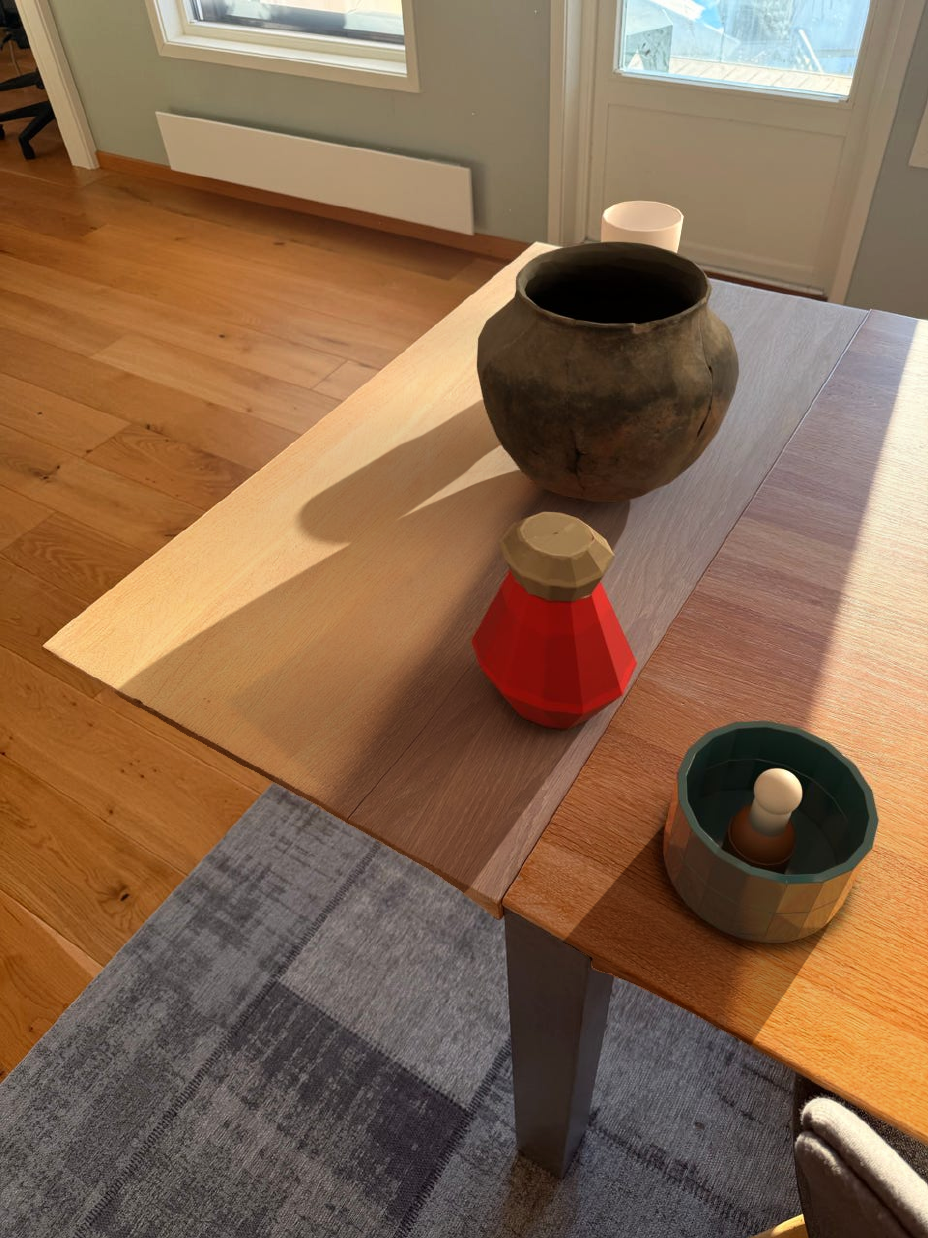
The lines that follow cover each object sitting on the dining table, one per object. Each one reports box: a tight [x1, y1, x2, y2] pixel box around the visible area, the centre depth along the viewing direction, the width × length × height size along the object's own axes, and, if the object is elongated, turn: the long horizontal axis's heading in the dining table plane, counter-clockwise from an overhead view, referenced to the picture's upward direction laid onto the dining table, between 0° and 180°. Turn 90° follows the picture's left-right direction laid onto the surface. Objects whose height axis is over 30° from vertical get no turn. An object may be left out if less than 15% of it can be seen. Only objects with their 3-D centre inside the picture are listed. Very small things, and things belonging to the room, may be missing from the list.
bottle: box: [470, 511, 638, 731], centre depth 80 cm, size 16×14×20 cm
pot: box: [476, 241, 740, 503], centre depth 104 cm, size 29×32×25 cm
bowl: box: [662, 720, 880, 944], centre depth 71 cm, size 14×15×9 cm
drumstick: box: [722, 769, 802, 875], centre depth 70 cm, size 5×5×11 cm
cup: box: [600, 200, 684, 253], centre depth 133 cm, size 11×11×17 cm
